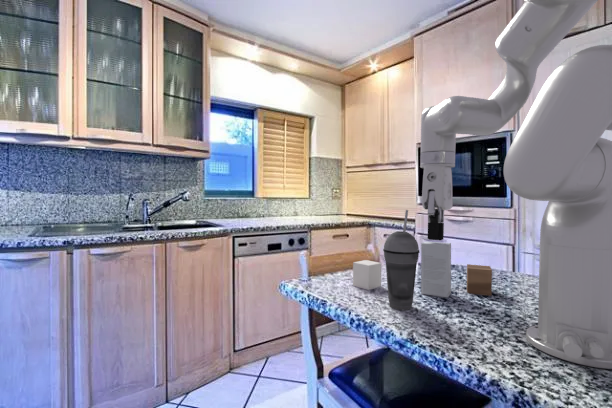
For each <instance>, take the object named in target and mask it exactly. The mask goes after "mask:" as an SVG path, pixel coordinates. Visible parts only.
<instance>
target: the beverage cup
mask: <svg viewBox="0 0 612 408" xmlns="http://www.w3.org/2000/svg"><path fill="white" fill-rule="evenodd" d="M404 212H405V213H404V221H403V228H402V229H403V230H402V231H394V232H392V233H391V234H389V236H388V237H387V238H386V240H385V242H384V245H383V258H384V262H385V271H386V283H387V285H386V286H387V299H388V304H389V306H388V307H389V308H392V309H393V310H398V311H409V310H412V308H413V301H414V293H415V284H416V283H415V282H416V273H417V264H418V261H419V254H421V253H420V249H419V248H420V247H419V243H418V241H417V239H416V238H415V237H414V235H412V234H411V233H410V232H408V231H407V224H408V223H407V222H408V216H409V210H408V209H405V211H404Z"/></svg>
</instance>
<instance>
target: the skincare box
mask: <svg viewBox="0 0 612 408" xmlns="http://www.w3.org/2000/svg"><path fill="white" fill-rule="evenodd" d="M420 244H421V245H420V249H421V253H420V255H421V261H420V267H421V269H420V270H421V273H420V277H421V278H420V280H421V281H420V287H421V288H420V294H421V295H427V296H434V297H440V298H446V299H447V298H449V297H450V295H451V294H452V243H451V242H437V241H424V242H421V243H420Z"/></svg>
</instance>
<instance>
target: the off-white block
mask: <svg viewBox="0 0 612 408" xmlns="http://www.w3.org/2000/svg"><path fill="white" fill-rule="evenodd" d="M352 286H353V287H357V288H360V289H364V290H367V291H370V290H373V289H377V288H380V287H382V262H377V261H372V260H368V259H363V260H359V261H353V262H352Z"/></svg>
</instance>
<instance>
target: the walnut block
mask: <svg viewBox="0 0 612 408" xmlns="http://www.w3.org/2000/svg"><path fill="white" fill-rule="evenodd" d="M492 284H493V269H492V268H491V265H484V264H483V265H482V264H481V265H480V264H466V293H467V294H472V295H480V296H490V297H492V293H493V292H492V290H493V289H492V286H493V285H492Z"/></svg>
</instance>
